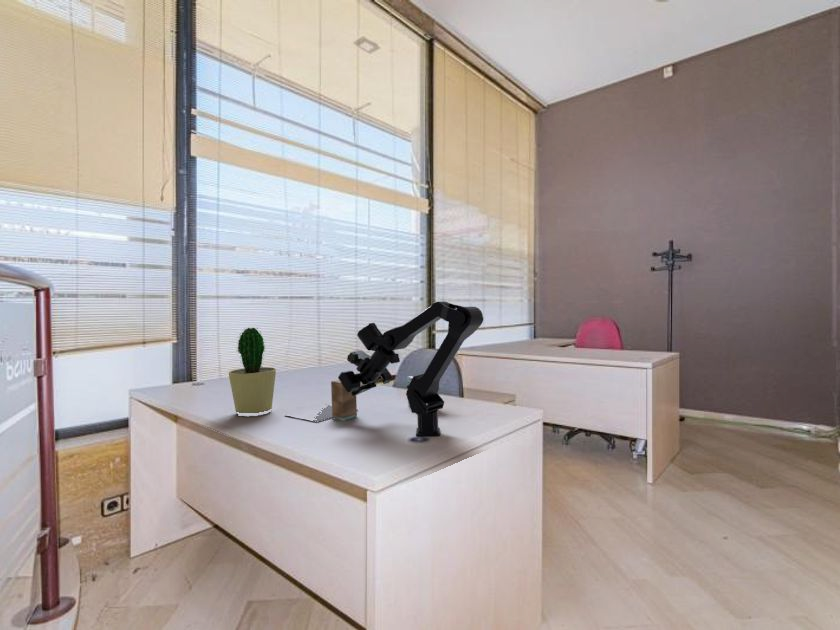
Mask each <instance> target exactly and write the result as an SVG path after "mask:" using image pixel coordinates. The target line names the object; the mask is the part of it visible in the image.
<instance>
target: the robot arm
mask: <svg viewBox="0 0 840 630" xmlns="http://www.w3.org/2000/svg"><path fill="white" fill-rule="evenodd" d="M441 319H442V320H444V321H446V322H447V324H448V325H447V327H448V328H447V334H446V336H445V338H444V339H443V340H442V342H441V344H440V346H439V347H438V350H437V351H436V352H435V355H433V358H432V359H431V361H430V362H429V363H428V366H427V368H426V369H425V371H424V372H423V373H421V374H418V375H412V376H413V378H412V380H411V382H410V384H409V385H408V384H407V386H406V388H407V390H406V392H405V395H406V399H407V403H408V402H409V405H410V407H409V408H410V412H411V413H412V414H415V415H416V416H417V417H416V418H417V427H416V431H415V436H417V437H423V436H424V437H425V436H427V437H428V436H429V437H431V436H433V437H434V436H435V437H436V436H440V435H441V431H440V430H441V428H440V427H439V410H442V409H443V408H444V406H445V405H444V404H445V401H444V400H443V398H442V397H441V396H440V395H439V390H440V381H441V379H442V377H443V375H444V374H445V373H446V371H447V369H448V368H449V367H450V364H451V363H452V361H453V359H454V357H455V356H456V355H457V353H458V351H459V350H460V348H461V347H462V345H463V343H464V342H465V341H466V340H467V339H468V338H469V337H471V336H472V335H473V334H474V333H476V331H477V330H478V329H479V327H481V326H482V324H483V322H484V315H483V312H482V311H481V310H480V308H478V307H477V306H462V305H458V304H454V303H450V302H448V301H441V300H440V301H435V302H433V303H432V304H431V305H430V306H429V307H427V308H426V309H424V310H423V311H422V312H420V313H419V314H417V315H416V316H414V317H413V318H412V319H410V320H408V321H407V322H405V324H402V325H400V326H396V327H394V328H390V329H388V330H386V331H385V332H383V333H382V332H381V331H380V330H379V328H378V326H377V323H375V322H370V323H368V324H367V325H366V326H364V327H363V328H361V329H359V330H358V332H357V335H356V336H357V338H358V339H359V341H360V342H361V343H362V344H363V346H364V347H365V349H366V350H367V351H371V352H373V353H372V354H371V355H369V354H368V353H366V352H365V351H363V350H354V351H351V352H349V354H347V357H346V359H347V362H349V363H350V364H351V365H352V364H353V365H354V366H356V371H357V372H359V373H354V371H353V370H346V371H341V372H340V374H339V375H338V376H337V377H338V378H337V380H340V382H341V383H342V385H343V386H344V388H345V389H346V391H347V392H352V395H353V396H356V397H357V396H358V395H360V394H362V393H365V392H367V391H369V390H371V389H374V388H376V387H377V384H376V383H377V382H379V381H380V380H382V382H381V383H382V384H383V385H386V384H387V385H388V384H390V382H391V381H392V379H393V375H392V374H391V372H390V371H389V369H388V368H387V367H388V366H389V364H392V365H393V364H398V363H400V360H401V359H400V353H396V352H395V351H397V350H403V349H406V348H407V347H408V346H409V345H410V344H411V343H412V342H413V341H414V338H415V337H416V336H417V335H418V334H421V332H423V331H425V330H426V329H428V328H429V327H431V326H433V325H434V324H435V323H437V322H439V321H440V320H441ZM426 404H428V405H426Z"/></svg>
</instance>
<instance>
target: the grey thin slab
mask: <svg viewBox="0 0 840 630" xmlns="http://www.w3.org/2000/svg"><path fill="white" fill-rule="evenodd" d="M327 405H328V406H327V407H326V408H324V409H323V408H322V409H323V410H321V411H322V413H321V412H319V413H318V414H317V415H319V416H316V418H315V417H314V418H315V419H317V420H313V421H316V422H317V421H321V420H324V419H328V418H331V419H332V406H330V405H331V404H327ZM358 411H359V409H357V412H358ZM320 413H321V414H320ZM328 420H329V419H328ZM321 422H322V421H321Z"/></svg>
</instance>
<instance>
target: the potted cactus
mask: <svg viewBox="0 0 840 630" xmlns="http://www.w3.org/2000/svg"><path fill="white" fill-rule="evenodd" d="M258 327H259V326H258ZM258 327H248V328H244V327H243V330H241V334H240V335H239V336H238V339H237V346H236V349H237V353H238V354H240V356H239V358H240V360H239V361H240V362H239V363H242V366H243V368H238V369H233V370H230V371H228V372H227V373H228V378H229V383H230V388H231V393H232V399H233V404H234V410H235V413H236V412H239V413H259V412H264V411H268V410H270V409H273V399H274V392H275V382H276V374H277V373H276V372H277V368H276V367H269V366H268V367H267V366H264V367H263V366H262V364H264V362H263V361H264V358H263V356H264V353H266V349H267V348H265V347H266V345H265V341H264V336H263V335H262V333H261V331H259V330H258Z"/></svg>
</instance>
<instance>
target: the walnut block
mask: <svg viewBox="0 0 840 630" xmlns="http://www.w3.org/2000/svg"><path fill="white" fill-rule="evenodd" d="M330 383H331V385H330V387H331V388H330V389H331V405H332V418H335V419H334V420H336V419H340V420H339V421H341V420H345V421H347V420H346V419H348V420H350V419H349V418H351V419H354V418H353V417H355V418H357V417H358V414H357V413H358V411H357V410H358V407H357V405H358V404H357V395H356V396H353V395H352V392H347V391H346V389H345V388H344V386H343V385H342V383H341V382H340V380H339V379H335V380H332V381H331V382H330ZM356 416H357V417H356ZM332 418H331V419H332Z"/></svg>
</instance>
